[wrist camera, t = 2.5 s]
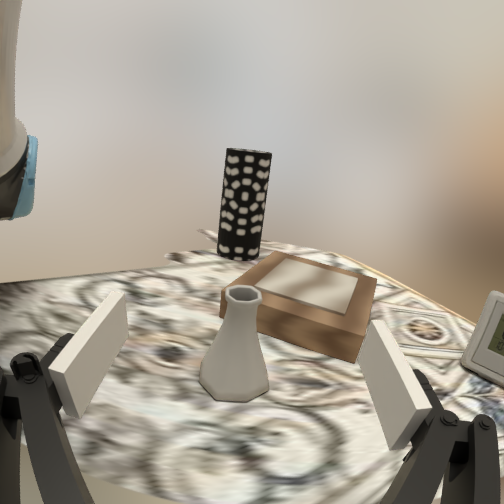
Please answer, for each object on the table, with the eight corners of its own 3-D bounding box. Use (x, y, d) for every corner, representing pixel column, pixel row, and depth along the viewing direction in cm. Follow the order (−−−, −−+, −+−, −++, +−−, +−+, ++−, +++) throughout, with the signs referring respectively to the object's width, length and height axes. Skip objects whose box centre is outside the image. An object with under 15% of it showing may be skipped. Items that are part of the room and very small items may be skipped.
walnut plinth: (219, 316, 40) (221, 287, 39) (272, 271, 56) (275, 248, 54) (354, 363, 34) (365, 333, 32) (370, 300, 49) (377, 276, 47)
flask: (281, 395, 28) (301, 310, 25) (208, 410, 25) (213, 320, 22) (253, 351, 34) (265, 272, 31) (190, 360, 32) (192, 276, 28)
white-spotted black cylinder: (218, 243, 66) (227, 147, 59) (257, 247, 67) (269, 152, 60) (215, 258, 58) (225, 149, 51) (260, 262, 59) (274, 154, 52)
